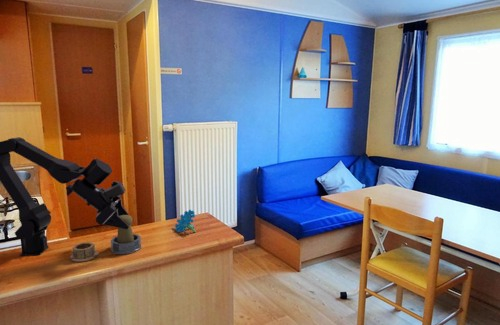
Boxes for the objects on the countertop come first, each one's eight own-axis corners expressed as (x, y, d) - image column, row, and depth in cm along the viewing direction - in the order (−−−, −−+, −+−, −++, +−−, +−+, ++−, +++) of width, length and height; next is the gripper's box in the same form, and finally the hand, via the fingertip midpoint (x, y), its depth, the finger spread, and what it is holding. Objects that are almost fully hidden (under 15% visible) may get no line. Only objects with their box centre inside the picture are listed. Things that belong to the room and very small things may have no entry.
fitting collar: (107, 255, 114) (107, 244, 113) (115, 243, 123) (114, 234, 123) (138, 253, 115) (137, 243, 114) (143, 242, 124) (143, 232, 124)
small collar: (66, 262, 108) (65, 251, 108) (76, 252, 116) (75, 241, 116) (93, 261, 109) (92, 250, 109) (101, 250, 117) (100, 240, 117)
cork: (129, 251, 115) (127, 219, 114) (112, 249, 117) (110, 218, 115) (138, 244, 121) (136, 213, 119) (122, 242, 122) (120, 212, 120)
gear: (171, 223, 139) (188, 204, 140) (181, 231, 142) (198, 213, 143) (178, 236, 130) (196, 216, 131) (189, 244, 133) (207, 224, 134)
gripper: (104, 181, 105) (144, 214, 109) (112, 170, 123) (146, 198, 127) (78, 209, 104) (119, 240, 109) (90, 193, 122) (125, 221, 127)
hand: (129, 223), depth 118 cm, fingers open, 9 cm apart
